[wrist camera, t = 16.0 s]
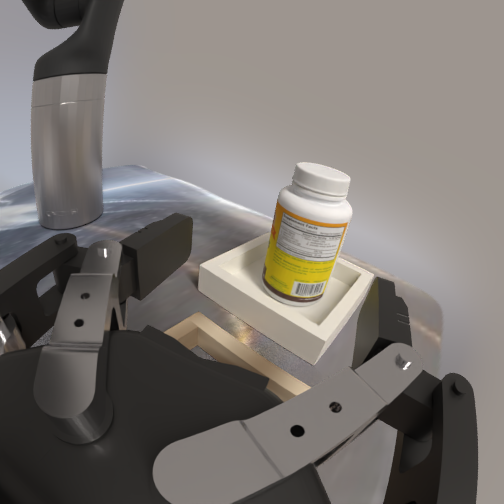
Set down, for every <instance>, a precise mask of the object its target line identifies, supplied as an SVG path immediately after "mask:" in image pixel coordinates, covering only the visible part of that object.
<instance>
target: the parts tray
mask: <svg viewBox="0 0 504 504" xmlns="http://www.w3.org/2000/svg"><path fill="white" fill-rule="evenodd" d="M270 234H271V232H268V233H266V234H264V235H262V236H260V237H258V238H256V239H253V240H251V241H249V242H247V243H245V244H243V245H241V246H238V247H236V248H234V249H232V250H230V251H228V252H226V253H224V254H221V255H219V256H217V257H215V258H213V259H211V260H209V261H207V262H204V263H202V264H200V267H199V283H198V290H199V291H200V292H201V293H203V294H204V295H206V296H207V297H209V298H210V299H211V300H213V301H214V302H216V303H217V304H219V305H220V306H221V307H223V308H224V309H226V310H227V311H229V312H230V313H232V314H233V315H235V316H236V317H238V318H239V319H241V320H242V321H244V322H245V323H247V324H248V325H250V326H251V327H253V328H254V329H256V330H257V331H259V332H260V333H262V334H264V335H265V336H267V337H268V338H270V339H271V340H273V341H274V342H276V343H278V344H279V345H281V346H282V347H284V348H286V349H287V350H289V351H290V352H292V353H294V354H295V355H297V356H298V357H300V358H302V359H303V360H305V361H307V362H308V363H310V364H312V365H313V366H314V365H315V364H316V362H317V361H318V360H319V359H320V357H321V356H322V355H323V354H324V352H325V351H326V350H327V348H328V347H329V346H330V344H331V343H332V342H333V340H334V339H335V338H336V336H337V335H338V334H339V332H340V331H341V330H342V328H343V327H344V325H345V324H346V323H347V321H348V320H349V318H350V317H351V315H352V314H353V313H354V311H355V310H356V308H357V307H358V305H359V304H360V302H361V301H362V299H363V298H364V296H365V295H366V292H367V290H368V288H369V286H370V283H371V281H372V279H373V276H374V274H372V273H370V272H368V271H366V270H364V269H362V268H360V267H358V266H356V265H354V264H352V263H350V262H348V261H346V260H344V259H342V258H340V257H338V260H337V263H336V266H335V268H334V271H333V274H332V277H331V279H330V282H329V285H328V287H327V290H326V293H325V295H324V296H323V298H322V299H321V300H320V301H318V302H317V303H315V304H312V305H309V306H292V305H288V304H285V303H282V302H280V301H278V300H277V299H275V298H273V297H272V296H271V295H270V294H269V293H268V292H267V291H266V289H265V288H264V286H263V283H262V273H263V268H264V263H265V258H266V254H267V249H268V244H269V239H270Z"/></svg>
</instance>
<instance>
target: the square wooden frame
mask: <svg viewBox="0 0 504 504" xmlns="http://www.w3.org/2000/svg"><path fill="white" fill-rule="evenodd" d="M163 333H165V334H167V335H169V336H171V337H173V338H175V339H176V340H178V341H179V342H180V343H181V344H183V345H184V346H185V347H186V348H188V349H189V350H191V349H192V348H194V347H195V346H197V345H198V346H199V347H201V348H202V349H203V350H204V351H206V352H207V353H208V354H209V355H211V356H212V357H213V358H214V359H216V360H217V361H218V362H221V363H226V364H231V365H236V366H239V367H242V368H244V369H247V370H249V371H252V372H254V373H257V374H260V375H262V376H265V377H268V378H270V379H269V382H268V385H267V387H266V388H267V389H269V390H270V391H272V392H273V393H274V394H276V395H277V396H278V397H279V398H280V399H281V400H282V401H283V402H286V401H288V400H290V399H291V398H293V397H295V396H297V395H299V394H301V393H303V392H305V391H306V390H308V389H310V388H311V387H309V386H308V385H306V384H304V383H303V382H301V381H299V380H298V379H296V378H295V377H293V376H291V375H290V374H288V373H287V372H285V371H284V370H282V369H281V368H279V367H277V366H276V365H274V364H273V363H271V362H270V361H268V360H267V359H265V358H264V357H262V356H261V355H259V354H258V353H256V352H255V351H253V350H252V349H250V348H249V347H248V346H246V345H245V344H243V343H242V342H240V341H239V340H237V339H236V338H235V337H233V336H232V335H230V334H229V333H228V332H226V331H225V330H223V329H222V328H221V327H219V326H218V325H216V324H215V323H214V322H212V321H211V320H210V319H208V318H207V317H206V316H204V315H203V314H201V313H200V312H199V311H198V312H197V313H195V314H193V315H192V316H190V317H188V318H187V319H185V320H183V321H182V322H180V323H178V324H177V325H175V326H173V327H172V328H170V329H168V330H167V331H165V332H163Z"/></svg>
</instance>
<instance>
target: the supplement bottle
mask: <svg viewBox="0 0 504 504" xmlns="http://www.w3.org/2000/svg"><path fill="white" fill-rule="evenodd" d="M292 179H293V181H292V185H289V186H286V187H284V188H283V189H282V190H281V191H280V192H279V195H278V199H277V205H276V210H275V215H274V220H273V224H272V229H271V234H270V239H269V244H268V249H267V254H266V258H265V263H264V268H263V273H262V283H263V286H264V288H265V289H266V291H267V292H268V293H269V294H270V295H271V296H272V297H273V298H275V299H277V300H278V301H280V302H282V303H285V304H288V305H292V306H309V305H312V304H315V303H317V302H318V301H320V300H321V299H322V298H323V296H324V295H325V293H326V290H327V287H328V285H329V282H330V279H331V277H332V274H333V271H334V268H335V266H336V263H337V260H338V257H339V254H340V251H341V248H342V245H343V242H344V239H345V236H346V233H347V230H348V227H349V224H350V221H351V217H352V208H351V206H350V204H349V203H348V202H347V201H346V200H345V199H346V196H347V193H348V188H349V184H350V177H349V176H348V175H346V174H345V173H343V172H341V171H339V170H336V169H333V168H330V167H327V166H324V165H320V164H315V163H307V162H301V163H297V165H296V168H295V172H294V175H293V178H292Z"/></svg>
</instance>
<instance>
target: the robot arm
mask: <svg viewBox="0 0 504 504" xmlns="http://www.w3.org/2000/svg"><path fill="white" fill-rule="evenodd" d="M22 1H23V3H24V4H25V6H26V7H27V8H28V10H29V11H30V13H31V14H32V16H33V17H34V18H35V20H36V21H37V22H38V23H39V24H40V25H42V26H43V27H45V28H47V29H61V28H67V27H73V26H79V25H80V26H79V28H78V29H77V31H76V32H75V33H74V34H73V35H72V36H70V37H69V38H68V39H67V40H66V41H64V42H63V43H62V44H60V45H59V46H57V47H55V48H54V49H52V50H50V51H49V52H47V53H45V54H44V55H43V56H41V57H40V58H39V59H38V60H37V62H36V64H35V69H34V77H33V81H34V82H33V89H32V103H31V107H32V108H31V152H32V169H33V181H34V191H35V199H36V207H37V213H38V219H39V223H40V224H41V225H42V226H44V227H46V228H50V229H68V228H73V227H78V226H81V225H84V224H87V223H89V222H91V221H93V220H95V219H97V218H98V217H99V216H100V215H101V214H102V213H103V191H102V132H103V112H104V98H105V87H106V78H107V75H106V74H107V69H108V63H109V58H110V54H111V50H112V45H113V40H114V35H115V30H116V26H117V22H118V18H119V15H120V11H121V8H122V5H123V2H124V0H22ZM192 229H193V220H192V218H191V217H189V216H185V215H182V214H179V213H174V214H172V215H170V216H169V217H167V218H165V219H163V220H160V221H157V222H153V223H151V224H149V225H147V226H146V227H145V228H142V229H141V230H139V231H138V232H135V233H134V234H132V235H130V236H129V237H127V238H125V239H124V240H122V241H120V242H119V243H118V242H116V241H113V240H102V241H98V242H96V243H94V244H92V245H91V246H90V247H89V248H83V247H78V246H77V240H76V236H75V235H73V234H70V233H62V234H58V235H55V236H53V237H51V238H49V239H48V240H46V241H44V242H43V243H41V244H39V245H38V246H36V247H34V248H33V249H31V250H30V251H28V252H26V253H25V254H23V255H22V256H20V257H19V258H17V259H16V260H14V261H13V262H11V263H10V264H8V265H7V266H5V267H4V268H2V269H1V270H0V504H331V502H330V500H329V498H328V495H327V493H326V491H325V489H324V486H323V484H322V482H321V479H320V477H319V475H318V472H317V470H316V468H318V467H319V466H321V465H322V464H324V463H325V462H327V461H328V460H329V459H331V458H332V457H333V456H335V455H336V454H337V453H338V452H340V451H341V450H342V449H343V448H345V447H346V446H347V445H349V444H350V443H351V442H352V441H354V440H355V439H356V438H357V437H359V436H360V435H361V434H362V433H364V432H365V431H366V430H367V429H368V428H370V427H371V426H372V425H373V424H374V423H375V422H377V421H378V420H381V421H383V422H385V423H386V424H388V425H390V426H392V427H393V428H395V429H397V430H398V431H397V438H396V445H395V451H394V457H393V462H392V468H391V472H390V477H389V482H388V486H387V490H386V495H385V499H384V502H383V504H476V495H477V480H478V436H477V421H476V409H475V400H474V393H473V389H472V386H471V385H470V383H469V382H468V381H467V380H466V379H465V378H464V377H463V376H461V375H459V374H456V373H450V374H447V375H446V376H445V377H444V378H443V379H442V380H439V379H438V378H436V377H434V376H432V375H431V374H429V373H427V372H426V371H424V370H423V360H422V358H421V356H420V355H419V353H418V352H417V351H416V350H415V349H413V348H412V340H411V331H410V325H409V323H410V322H409V318H408V316H409V315H408V307H407V306H406V304H405V302H404V301H403V299H402V298H401V297H398V296H396V294H395V285H394V282H392V281H389V280H386V279H383V278H380V277H376V278H375V280H374V282H373V284H372V286H371V289H370V291H369V293H368V295H367V298H366V300H365V302H364V304H363V306H362V308H361V311H360V314H359V317H358V322H357V331H356V339H355V347H354V355H353V362H352V367H346V368H344V369H343V370H341V371H339V372H338V373H336V374H334V375H333V376H331V377H329V378H328V379H326V380H324V381H322V382H321V383H319V384H317V385H315V386H314V387H312V388H310V389H308V390H306V391H305V392H303V393H301V394H299V395H297V396H295V397H293V398H291V399H290V400H288V401H286V402H283V401H282V400H281V399H280V398H279V397H278V396H277V395H276V394H274V393H273V392H272V391H270V390H269V389H267V388H266V387H267V385H268V382H269V379H270V378H268V377H265V376H262V375H260V374H257V373H254V372H252V371H249V370H247V369H244V368H242V367H239V366H236V365H231V364H226V363H221V362H216V361H211V360H206V359H202V358H200V357H198V356H197V355H195V354H194V353H193V352H191V351H190V350H189V349H188V348H186V347H185V346H184V345H183V344H181V343H180V342H179V341H178V340H176V339H175V338H173V337H171V336H169V335H167V334H165V333H163V332H161V331H159V330H157V329H155V328H153V327H151V326H149V325H147V326H146V327H145V328H144V329H143V331H142V332H138V331H132V330H127V315H128V299H127V298H128V297H129V296H132V297H134V298H136V299H138V300H140V301H141V300H142V299H144V298H145V297H146V296H147V295H148V294H149V293H150V292H151V291H153V290H154V289H155V288H156V287H157V286H158V285H159V284H161V283H162V282H163V281H164V280H165V279H166V278H168V277H169V276H170V275H171V274H172V273H173V272H174V271H176V270H177V269H178V268H179V267H180V266H181V265H183V264H184V263H185V262H186V261H187V260H188V258H189V256H190V253H191V245H192ZM52 271H53V274H54V278H55V282H56V285H55V286H53V287H52V288H51V289H49V290H48V291H47V292H46V293H44V294H43V295H42V296H40V297H39V298H38V295H37V291H36V287H37V284H38V282H39V281H40V280H41V279H42V278H44V277H45V276H46V275H48V274H49V273H51V272H52ZM53 326H54V328H53V331H52V335H51V339H50V342H49V343H48V344H47V345H42V346H36V347H31V346H32V345H33V344H34V343H35V342H36V341H37V340H38V339H39V338H40V337H42V336H43V335H44V334H45V333H46V332H47V331H48V330H49V329H50V328H51V327H53ZM30 347H31V348H30Z"/></svg>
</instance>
